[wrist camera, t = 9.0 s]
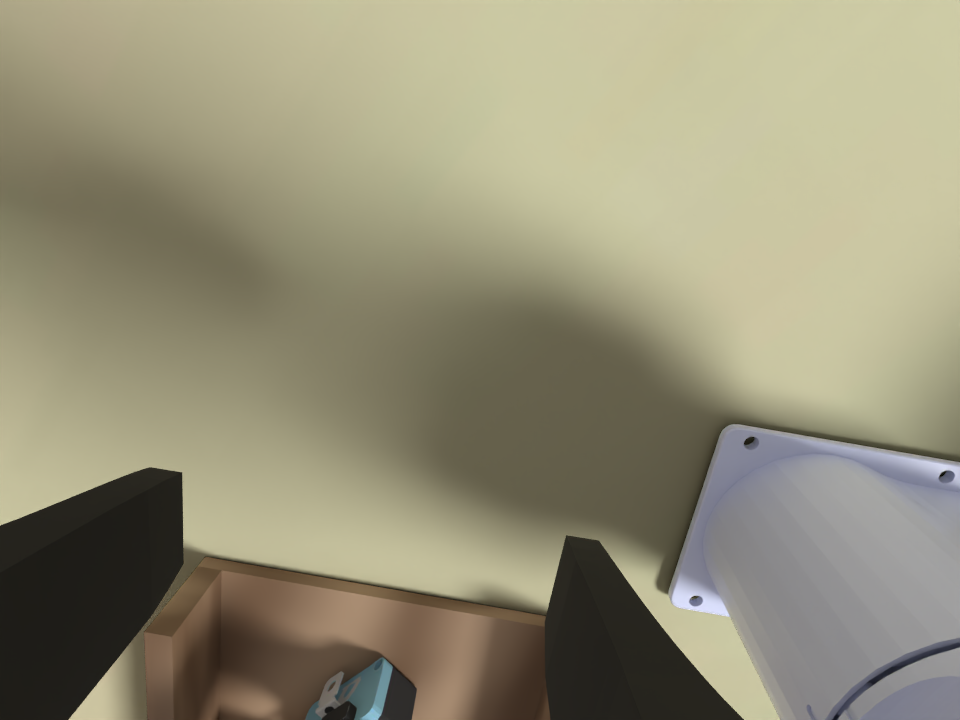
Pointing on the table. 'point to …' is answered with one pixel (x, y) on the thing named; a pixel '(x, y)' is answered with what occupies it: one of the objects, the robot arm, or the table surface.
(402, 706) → the push button
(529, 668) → the walled box
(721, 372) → the table surface
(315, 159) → the table surface
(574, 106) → the table surface
